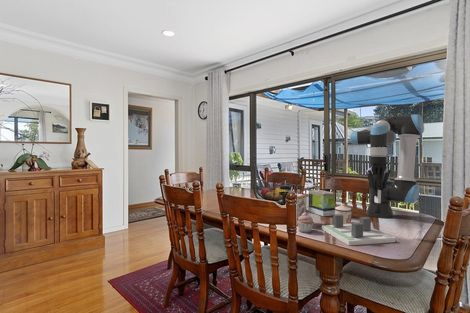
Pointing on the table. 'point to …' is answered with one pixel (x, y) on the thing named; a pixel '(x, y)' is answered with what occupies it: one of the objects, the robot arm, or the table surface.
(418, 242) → the table surface
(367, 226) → the block
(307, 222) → the cupcake
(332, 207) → the tea box
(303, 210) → the candy bar box
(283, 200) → the french press
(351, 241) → the panel
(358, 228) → the block
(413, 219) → the table surface
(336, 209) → the teacup with lid
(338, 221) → the block
